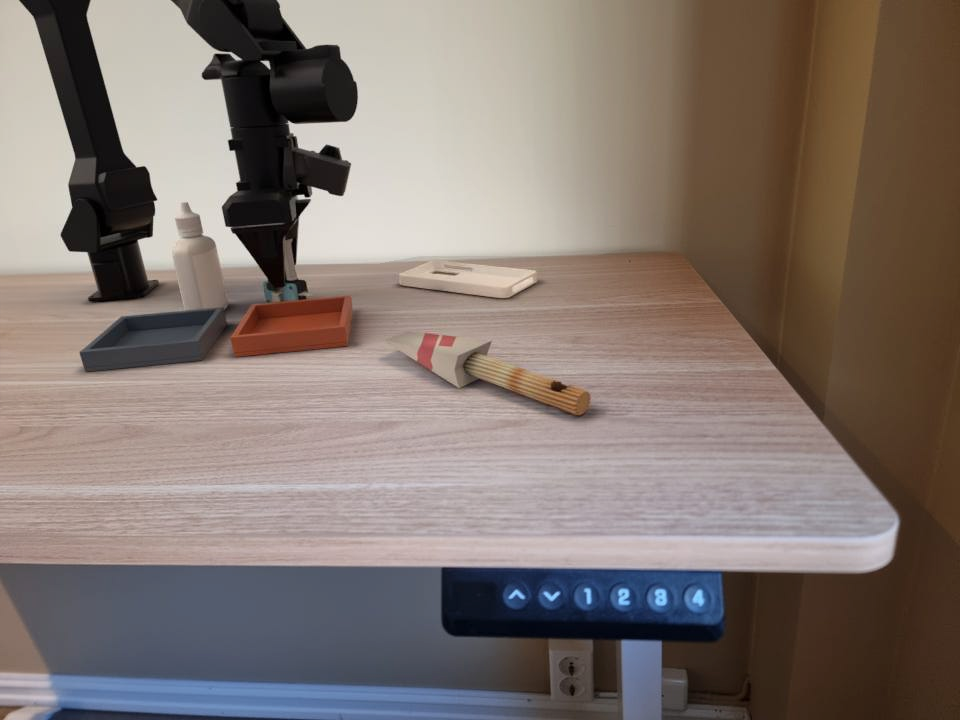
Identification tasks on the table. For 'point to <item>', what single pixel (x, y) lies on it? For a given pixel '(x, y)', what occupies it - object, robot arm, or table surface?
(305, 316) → the terracotta tray
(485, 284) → the phone case
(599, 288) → the table surface
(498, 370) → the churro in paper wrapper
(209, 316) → the slate tray
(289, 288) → the push button
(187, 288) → the eye dropper bottle
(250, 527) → the table surface
